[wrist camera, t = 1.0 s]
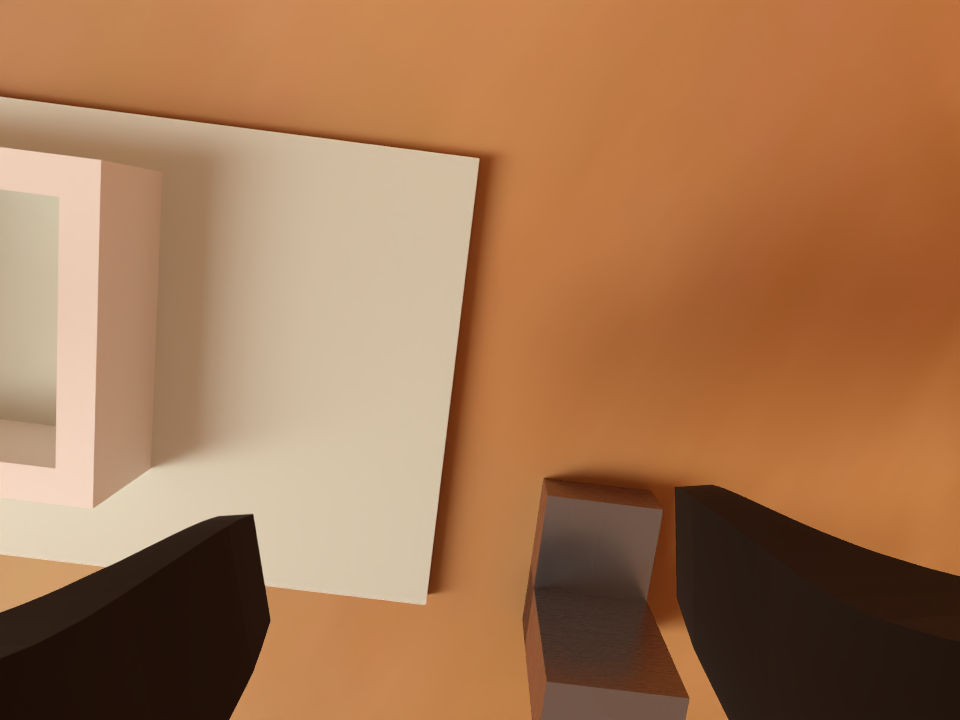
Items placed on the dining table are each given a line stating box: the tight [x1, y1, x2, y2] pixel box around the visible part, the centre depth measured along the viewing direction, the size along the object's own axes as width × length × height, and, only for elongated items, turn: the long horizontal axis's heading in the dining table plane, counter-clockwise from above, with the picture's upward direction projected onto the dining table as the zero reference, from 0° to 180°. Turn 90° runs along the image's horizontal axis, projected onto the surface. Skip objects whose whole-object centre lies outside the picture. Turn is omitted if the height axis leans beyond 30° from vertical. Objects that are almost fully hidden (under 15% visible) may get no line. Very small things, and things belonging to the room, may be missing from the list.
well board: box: [0, 97, 480, 605], centre depth 19 cm, size 14×18×4 cm
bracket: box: [523, 478, 690, 720], centre depth 19 cm, size 5×4×6 cm
